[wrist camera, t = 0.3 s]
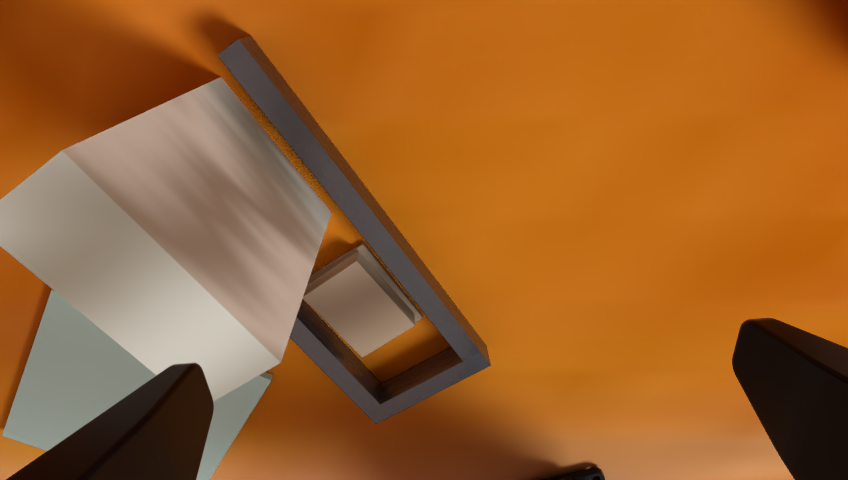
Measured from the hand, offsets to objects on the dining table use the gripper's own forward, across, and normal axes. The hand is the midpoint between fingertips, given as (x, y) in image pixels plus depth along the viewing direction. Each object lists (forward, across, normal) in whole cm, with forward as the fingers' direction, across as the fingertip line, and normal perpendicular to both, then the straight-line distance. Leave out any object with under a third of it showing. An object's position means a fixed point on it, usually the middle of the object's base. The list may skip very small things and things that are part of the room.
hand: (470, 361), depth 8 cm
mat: (+14, +17, +13) cm, 26 cm away
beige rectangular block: (+14, +8, 0) cm, 16 cm away
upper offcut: (+14, +4, +7) cm, 16 cm away
